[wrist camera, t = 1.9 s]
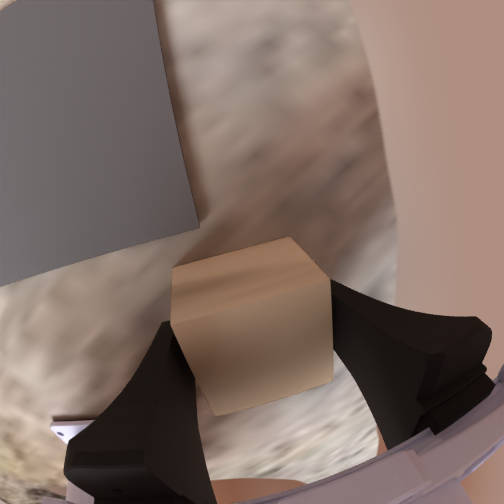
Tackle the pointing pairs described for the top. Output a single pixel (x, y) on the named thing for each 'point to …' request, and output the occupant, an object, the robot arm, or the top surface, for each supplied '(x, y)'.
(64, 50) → the charcoal mat
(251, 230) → the top surface
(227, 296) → the birch brick
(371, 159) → the top surface
